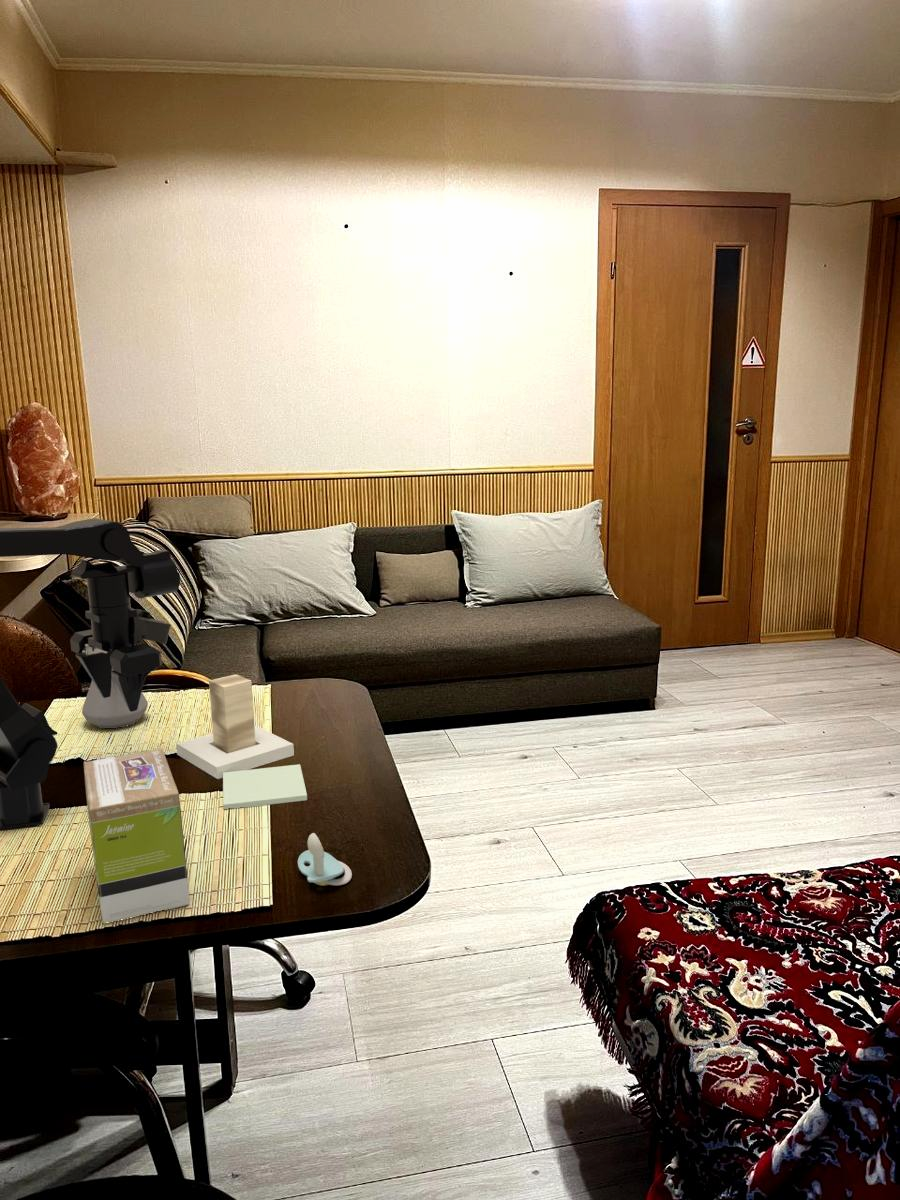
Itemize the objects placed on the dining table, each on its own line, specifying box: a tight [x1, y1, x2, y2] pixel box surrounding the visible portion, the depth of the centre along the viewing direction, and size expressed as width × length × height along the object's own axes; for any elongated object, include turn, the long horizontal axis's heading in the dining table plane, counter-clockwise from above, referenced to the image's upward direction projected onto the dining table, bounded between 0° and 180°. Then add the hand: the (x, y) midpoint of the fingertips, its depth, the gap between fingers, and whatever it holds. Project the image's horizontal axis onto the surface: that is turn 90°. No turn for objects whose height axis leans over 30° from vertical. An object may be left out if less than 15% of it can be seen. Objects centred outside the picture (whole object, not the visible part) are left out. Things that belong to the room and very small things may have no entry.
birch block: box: [208, 674, 256, 754], centre depth 151 cm, size 5×5×13 cm
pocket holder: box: [175, 724, 295, 780], centre depth 153 cm, size 14×14×2 cm
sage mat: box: [222, 763, 308, 810], centre depth 139 cm, size 12×12×1 cm
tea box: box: [83, 748, 191, 924], centre depth 110 cm, size 15×10×15 cm, turn 24°
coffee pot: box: [81, 668, 149, 729], centre depth 164 cm, size 21×12×15 cm, turn 27°
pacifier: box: [297, 832, 353, 887], centre depth 113 cm, size 7×6×6 cm
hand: (119, 703), depth 139 cm, fingers open, 9 cm apart
